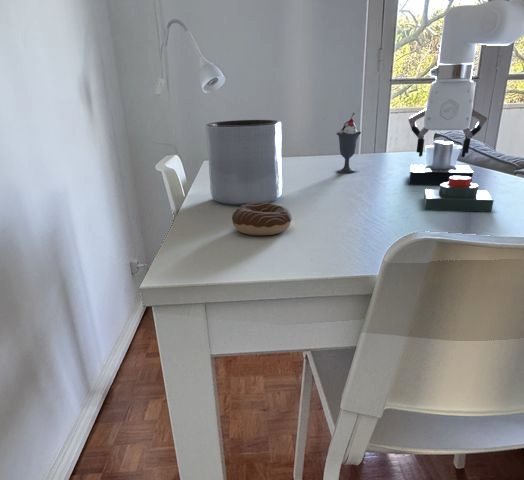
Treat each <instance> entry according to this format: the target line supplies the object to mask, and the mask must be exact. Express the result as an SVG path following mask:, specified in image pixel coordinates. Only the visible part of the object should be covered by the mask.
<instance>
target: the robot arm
mask: <svg viewBox="0 0 524 480" xmlns="http://www.w3.org/2000/svg"><path fill="white" fill-rule="evenodd" d="M443 17H444V18H443V23H442V31H441V38H440V44H439V45H440V46H439V50H438V51H439V52H438V59H437V66H435V67H433V68H430V70H429V76H430V77H434V78H435V80H434V81H432V82H431V84H430V87H429V90H428V96H427V99H426V105H425V108H424V109H423V110H421V111H419V112H418V113H415V114H413V115H411V116H410V117H409V118H408V123H409V126H410V129H411V132H413V134H414V135H415V137H416V138H417V145H416V153H417V154H418V157H419V158H422V157H423V153H424V146H425V135H426V134H427V133H428V132H429V131H462V132H463V134H464V137H463V138H462V142H461V150H460V153H459V155H460V157H461V158H465V157H466V154H468V153H469V150H470V145H471V139H472V138H473V137H474V136H476V134H478V133H479V132H480V131H481V130H482V128H483V127H484V125H485V124H486V123H487V121H488V117H487V116H486V115H484V114H481V113H480V112H478V111H476V110H475V109H474V100H475V88H476V87H475V80H472V75H473V70H474V66H475V65H474V64H475V58H476V52H477V46H478V45H483V46H484V45H486V46H500V47H501V46H502V47H504V46H509V45H512V44H513V43H515V42H517V41H518V40H519V39H520V38H522V37H523V36H524V0H489V1H486V2H482V3H479V4H475V5H474V4H465V5H456V6H452V7H450V8H448V9H447V10H446V12H445V13H444V16H443ZM423 117H424V118H423ZM422 118H423V127H422V128H421V129H419V127H418V126H417V124H416V121H418V120H420V119H422ZM472 118H474V119H476V120H478V121H477V123H476V125H475V126H474V127H472V129H470V125H471V123H472Z"/></svg>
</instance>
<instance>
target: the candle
mask: <svg viewBox="0 0 524 480" xmlns="http://www.w3.org/2000/svg"><path fill="white" fill-rule="evenodd" d="M434 145H435V144H430V145H426V146H425V165H432V159H433V152H434ZM461 148H462V145H457V144H453V149H452V155H451V162H450V166H457V162H458V159H459V155H460V154H461Z"/></svg>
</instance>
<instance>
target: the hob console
mask: <svg viewBox="0 0 524 480" xmlns="http://www.w3.org/2000/svg"><path fill="white" fill-rule="evenodd" d="M431 167H432V165H426V164H424V165H423V164H419V165H417V164H414V165H413V164H411V165H410V166H409V175H408V185H409V186H440V184H441V183H444V182H449V177H451V176H467V177H471V183H473V182H472V181H473V177H474V171H473V170H472V168H471V167H470V166H469V165H455V166H450V168H449V169H447V170H436V169H432V168H431Z"/></svg>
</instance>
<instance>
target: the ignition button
mask: <svg viewBox="0 0 524 480" xmlns="http://www.w3.org/2000/svg"><path fill="white" fill-rule="evenodd" d="M470 183H472V182H471V177H467V176H451V177H449V183H448V186H452V187H470Z"/></svg>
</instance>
